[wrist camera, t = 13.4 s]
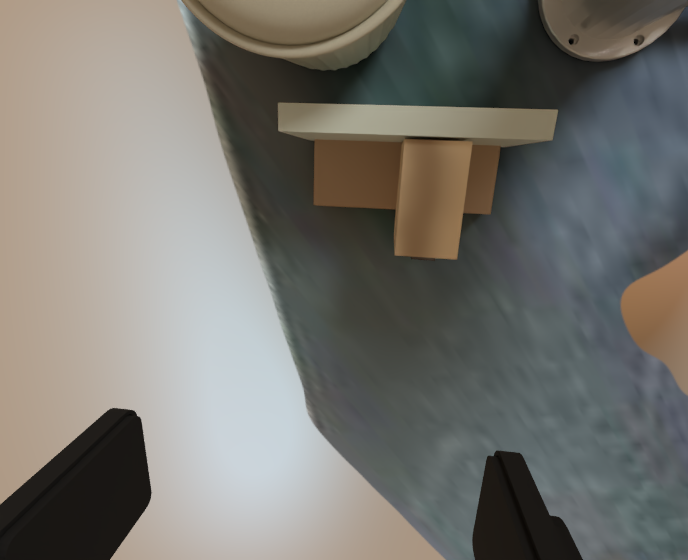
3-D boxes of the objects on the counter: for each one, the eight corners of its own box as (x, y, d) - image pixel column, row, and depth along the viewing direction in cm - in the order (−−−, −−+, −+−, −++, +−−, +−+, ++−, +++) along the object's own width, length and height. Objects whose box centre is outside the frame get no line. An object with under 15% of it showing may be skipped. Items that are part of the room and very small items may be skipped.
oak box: (453, 146, 37) (472, 141, 28) (441, 244, 40) (455, 266, 31) (401, 144, 37) (404, 138, 29) (393, 241, 40) (394, 262, 31)
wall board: (507, 126, 38) (558, 109, 26) (494, 211, 40) (535, 230, 29) (309, 120, 40) (278, 102, 28) (309, 202, 42) (279, 216, 31)
